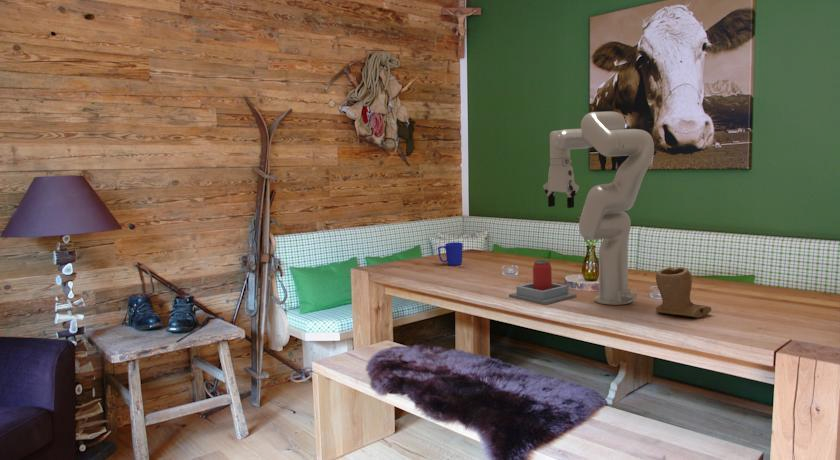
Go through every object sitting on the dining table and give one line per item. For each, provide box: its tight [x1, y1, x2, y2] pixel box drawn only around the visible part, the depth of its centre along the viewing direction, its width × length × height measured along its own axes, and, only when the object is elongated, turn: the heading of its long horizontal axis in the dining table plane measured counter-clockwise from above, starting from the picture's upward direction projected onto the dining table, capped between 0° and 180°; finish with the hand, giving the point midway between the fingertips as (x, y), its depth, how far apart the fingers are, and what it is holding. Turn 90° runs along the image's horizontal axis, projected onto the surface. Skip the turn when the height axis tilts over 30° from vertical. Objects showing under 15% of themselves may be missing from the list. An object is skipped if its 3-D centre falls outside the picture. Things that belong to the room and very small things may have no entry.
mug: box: [437, 241, 464, 266], centre depth 311 cm, size 8×12×10 cm
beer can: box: [532, 259, 553, 291], centre depth 238 cm, size 7×7×12 cm
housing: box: [508, 282, 577, 306], centre depth 239 cm, size 18×16×4 cm
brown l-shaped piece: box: [655, 266, 712, 319], centre depth 206 cm, size 15×12×15 cm
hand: (561, 207), depth 256 cm, fingers open, 9 cm apart
